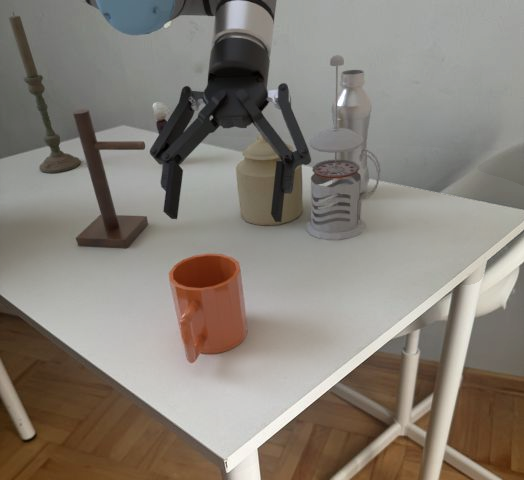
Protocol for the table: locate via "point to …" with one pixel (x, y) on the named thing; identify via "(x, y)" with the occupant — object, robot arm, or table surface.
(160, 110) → the grandmother figurine
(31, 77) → the candlestick holder
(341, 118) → the silver metal bottle
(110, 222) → the mug stand
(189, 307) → the mug
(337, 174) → the french press
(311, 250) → the table surface
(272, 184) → the sugar bowl
